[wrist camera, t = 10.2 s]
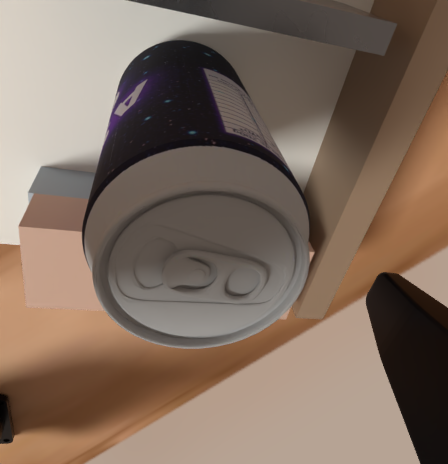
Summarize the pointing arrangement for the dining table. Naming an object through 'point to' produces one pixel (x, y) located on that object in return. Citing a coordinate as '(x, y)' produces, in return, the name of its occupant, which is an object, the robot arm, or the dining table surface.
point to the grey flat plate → (296, 19)
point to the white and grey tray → (257, 86)
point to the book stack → (60, 242)
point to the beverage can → (193, 206)
